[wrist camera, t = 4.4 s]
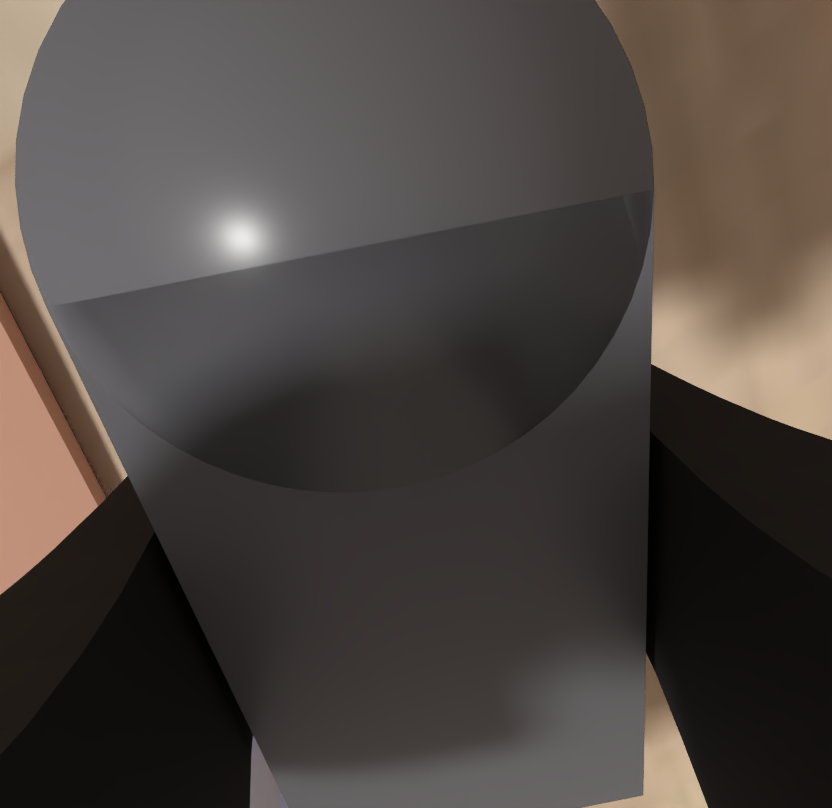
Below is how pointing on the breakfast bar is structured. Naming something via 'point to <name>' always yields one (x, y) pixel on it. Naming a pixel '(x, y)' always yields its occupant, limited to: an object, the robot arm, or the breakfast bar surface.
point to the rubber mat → (35, 462)
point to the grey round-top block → (372, 368)
